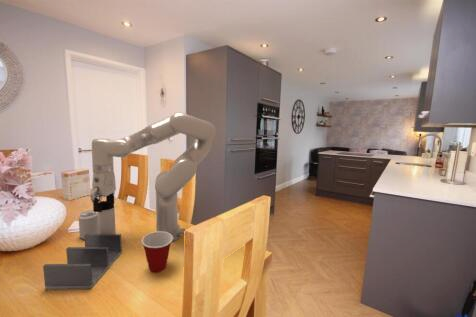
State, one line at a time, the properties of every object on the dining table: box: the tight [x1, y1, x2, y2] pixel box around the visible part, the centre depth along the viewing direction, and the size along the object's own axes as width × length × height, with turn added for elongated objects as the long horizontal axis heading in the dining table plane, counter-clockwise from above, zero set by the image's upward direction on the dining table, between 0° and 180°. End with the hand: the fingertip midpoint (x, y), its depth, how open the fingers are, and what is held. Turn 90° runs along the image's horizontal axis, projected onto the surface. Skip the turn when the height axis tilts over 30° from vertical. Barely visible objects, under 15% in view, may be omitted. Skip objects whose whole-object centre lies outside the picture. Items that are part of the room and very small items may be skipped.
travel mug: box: [97, 200, 117, 234], centre depth 96 cm, size 6×7×20 cm
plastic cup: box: [141, 231, 173, 274], centre depth 81 cm, size 11×11×12 cm
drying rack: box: [42, 233, 123, 290], centre depth 80 cm, size 14×21×8 cm, turn 3°
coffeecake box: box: [60, 168, 92, 202], centre depth 158 cm, size 15×7×20 cm, turn 157°
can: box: [77, 209, 99, 240], centre depth 103 cm, size 8×8×12 cm
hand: (104, 207), depth 95 cm, fingers open, 9 cm apart
